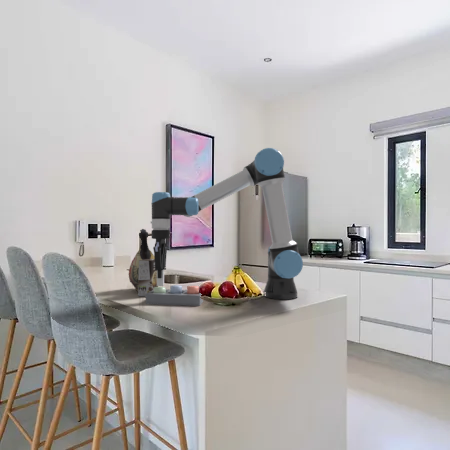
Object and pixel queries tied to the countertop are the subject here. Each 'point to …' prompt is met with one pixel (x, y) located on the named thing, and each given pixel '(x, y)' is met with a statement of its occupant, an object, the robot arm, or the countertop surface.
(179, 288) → the button slate
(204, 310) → the countertop surface
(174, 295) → the panel
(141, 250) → the ceramic jug
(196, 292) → the button coral
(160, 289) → the button sage
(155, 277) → the coffee box
